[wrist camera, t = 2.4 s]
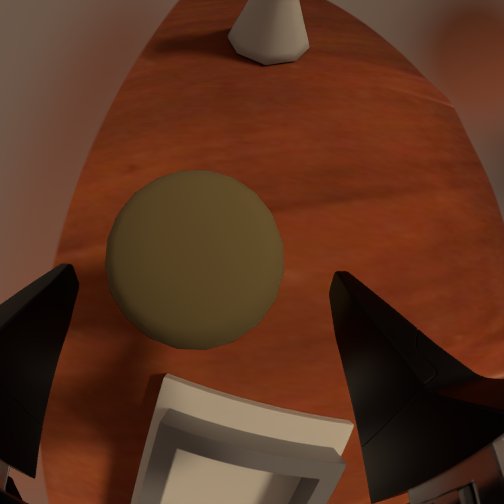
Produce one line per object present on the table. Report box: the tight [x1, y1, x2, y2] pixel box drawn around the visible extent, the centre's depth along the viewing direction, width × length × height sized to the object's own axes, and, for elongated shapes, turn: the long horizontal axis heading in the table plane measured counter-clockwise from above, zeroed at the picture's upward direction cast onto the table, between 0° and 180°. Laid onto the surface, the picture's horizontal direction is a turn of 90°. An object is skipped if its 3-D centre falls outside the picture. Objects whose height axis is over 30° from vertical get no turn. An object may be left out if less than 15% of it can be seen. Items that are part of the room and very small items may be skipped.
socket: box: [131, 373, 354, 504], centre depth 13 cm, size 14×12×4 cm
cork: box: [105, 170, 284, 350], centre depth 12 cm, size 6×6×11 cm
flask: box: [227, 0, 309, 65], centre depth 17 cm, size 7×7×10 cm
